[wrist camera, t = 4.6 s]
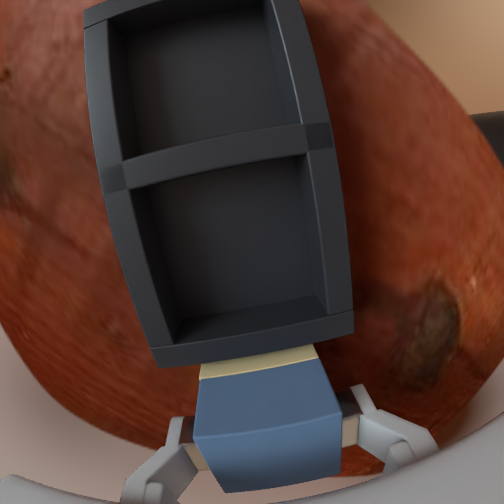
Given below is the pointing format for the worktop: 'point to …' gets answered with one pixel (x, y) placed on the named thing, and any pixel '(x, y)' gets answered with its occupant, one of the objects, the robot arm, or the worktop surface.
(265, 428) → the pad blue
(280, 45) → the backing frame
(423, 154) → the worktop surface
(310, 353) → the pad beige
